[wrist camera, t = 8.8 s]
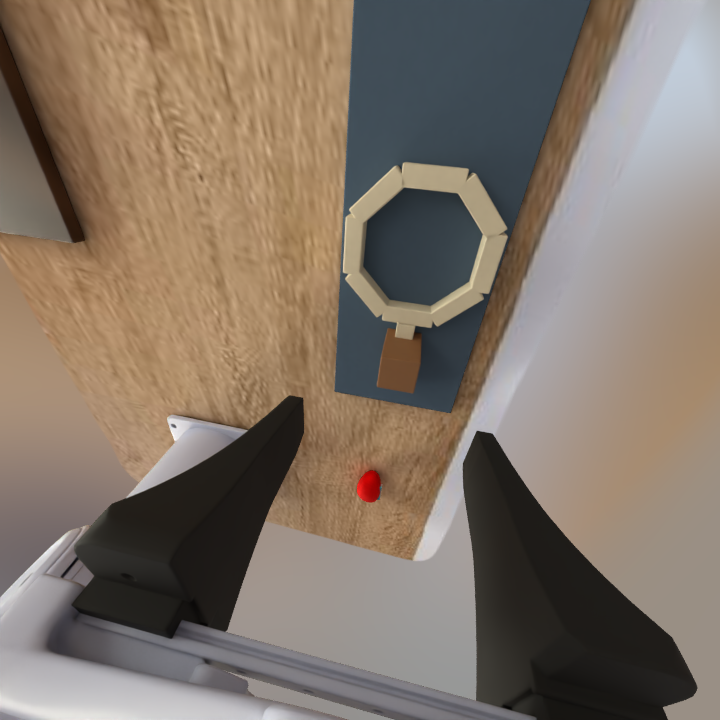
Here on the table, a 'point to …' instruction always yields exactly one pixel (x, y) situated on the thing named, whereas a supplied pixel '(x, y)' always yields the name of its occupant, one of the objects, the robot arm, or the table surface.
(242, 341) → the table surface
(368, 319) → the mat
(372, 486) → the candy
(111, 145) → the table surface
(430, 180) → the octagonal ring with handle
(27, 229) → the peg stand
